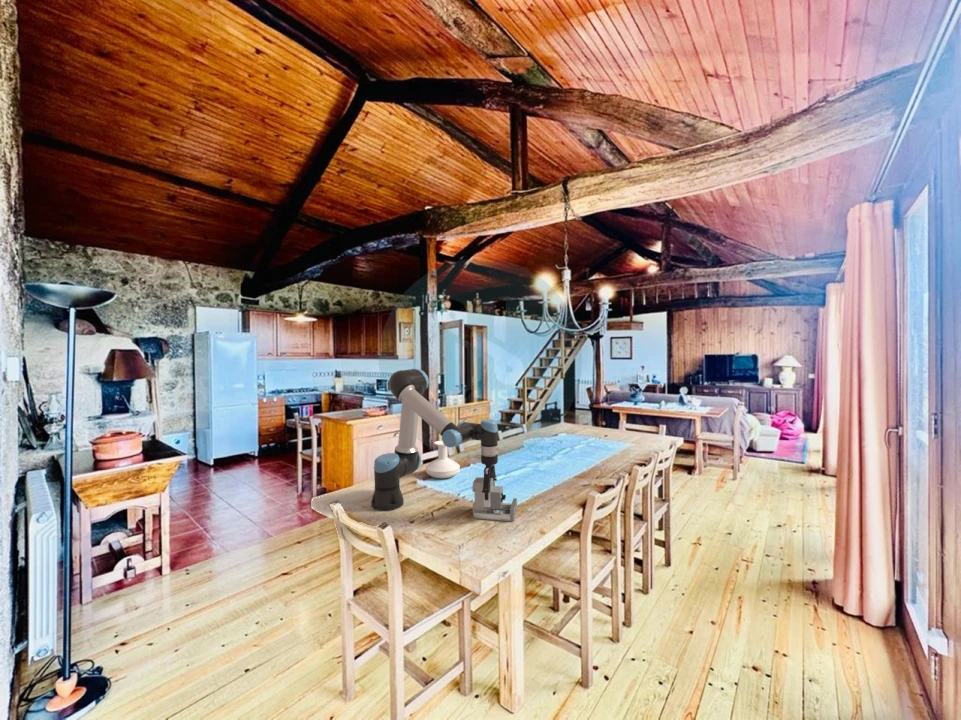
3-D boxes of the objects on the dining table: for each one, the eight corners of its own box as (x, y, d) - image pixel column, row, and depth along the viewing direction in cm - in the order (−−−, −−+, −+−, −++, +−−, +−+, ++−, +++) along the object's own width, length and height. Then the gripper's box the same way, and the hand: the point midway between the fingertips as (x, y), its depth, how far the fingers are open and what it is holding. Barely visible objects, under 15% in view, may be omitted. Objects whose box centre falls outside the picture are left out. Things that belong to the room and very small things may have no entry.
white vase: (447, 467, 252) (446, 436, 251) (467, 475, 236) (466, 442, 235) (419, 474, 239) (418, 442, 238) (438, 483, 224) (437, 449, 223)
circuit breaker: (504, 517, 179) (504, 484, 179) (472, 515, 182) (472, 482, 182) (506, 510, 187) (506, 478, 186) (476, 508, 190) (475, 477, 189)
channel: (473, 518, 179) (473, 507, 179) (479, 506, 192) (479, 496, 192) (513, 521, 176) (513, 510, 176) (516, 509, 189) (516, 498, 188)
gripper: (492, 462, 170) (493, 512, 171) (501, 447, 195) (501, 491, 196) (475, 462, 172) (475, 511, 173) (486, 446, 196) (486, 490, 197)
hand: (489, 500), depth 184 cm, fingers open, 13 cm apart
